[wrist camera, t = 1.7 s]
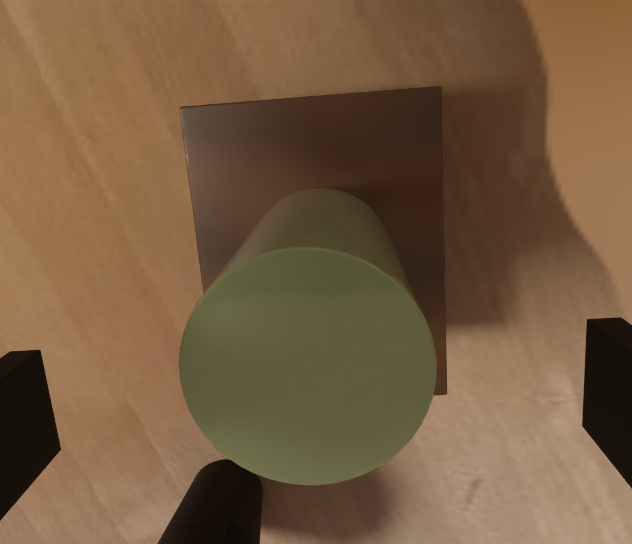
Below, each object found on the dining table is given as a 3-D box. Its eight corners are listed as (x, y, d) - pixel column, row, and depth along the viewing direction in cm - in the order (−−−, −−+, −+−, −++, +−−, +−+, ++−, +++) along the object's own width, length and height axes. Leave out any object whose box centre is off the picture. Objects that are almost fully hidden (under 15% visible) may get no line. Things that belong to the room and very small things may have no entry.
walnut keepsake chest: (220, 110, 33) (178, 106, 24) (413, 94, 32) (441, 85, 24) (246, 338, 37) (218, 406, 28) (421, 328, 36) (447, 395, 27)
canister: (242, 193, 25) (160, 256, 14) (389, 182, 25) (434, 238, 13) (257, 330, 27) (195, 491, 15) (395, 322, 26) (440, 481, 15)
